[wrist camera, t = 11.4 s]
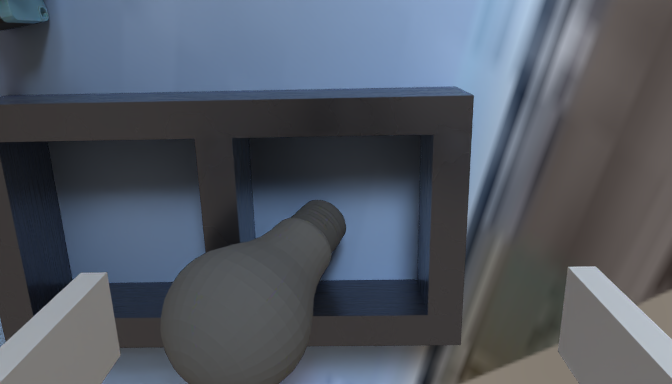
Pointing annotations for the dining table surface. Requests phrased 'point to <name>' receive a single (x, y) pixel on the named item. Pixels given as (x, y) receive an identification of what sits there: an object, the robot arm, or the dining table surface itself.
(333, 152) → the dining table surface
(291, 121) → the rectangular frame
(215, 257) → the light bulb
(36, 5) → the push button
